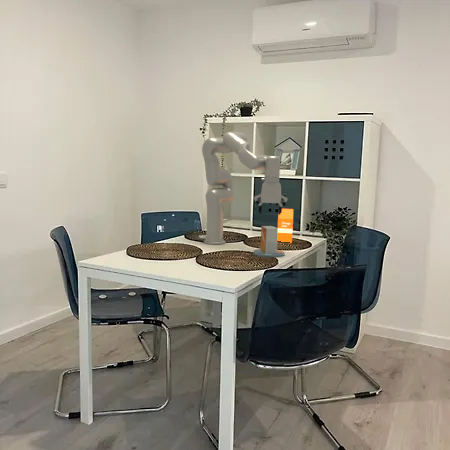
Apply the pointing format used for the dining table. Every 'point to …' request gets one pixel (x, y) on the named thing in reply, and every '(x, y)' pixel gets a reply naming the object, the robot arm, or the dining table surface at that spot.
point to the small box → (269, 239)
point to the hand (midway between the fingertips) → (270, 214)
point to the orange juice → (285, 226)
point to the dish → (261, 253)
